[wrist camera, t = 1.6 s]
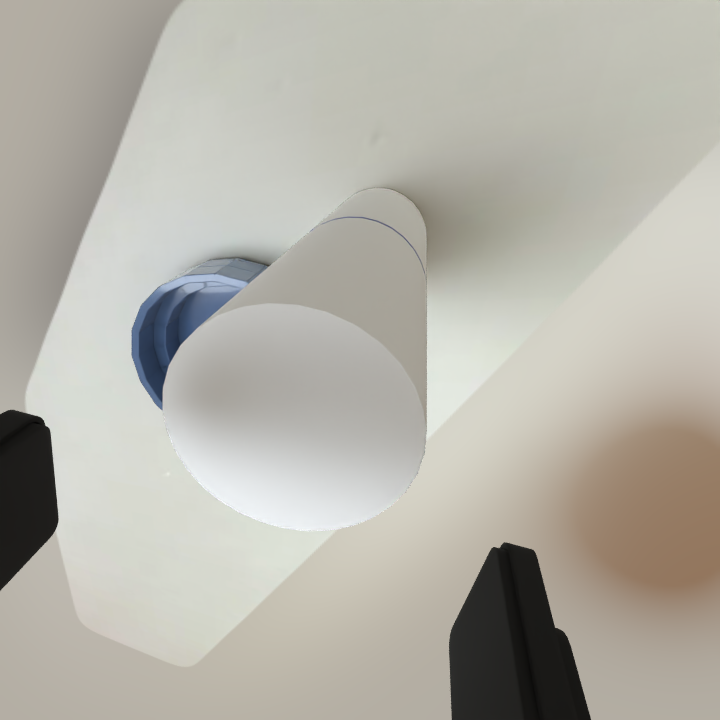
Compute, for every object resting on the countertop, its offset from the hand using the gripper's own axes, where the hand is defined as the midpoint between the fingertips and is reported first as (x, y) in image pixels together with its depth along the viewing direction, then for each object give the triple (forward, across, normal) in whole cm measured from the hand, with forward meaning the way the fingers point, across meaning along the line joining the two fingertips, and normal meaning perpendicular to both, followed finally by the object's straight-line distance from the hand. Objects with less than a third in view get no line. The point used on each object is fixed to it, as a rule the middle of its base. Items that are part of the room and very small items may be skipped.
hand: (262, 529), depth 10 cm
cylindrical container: (+28, 0, 0) cm, 28 cm away
